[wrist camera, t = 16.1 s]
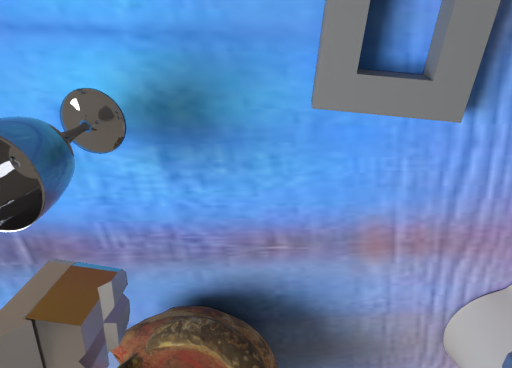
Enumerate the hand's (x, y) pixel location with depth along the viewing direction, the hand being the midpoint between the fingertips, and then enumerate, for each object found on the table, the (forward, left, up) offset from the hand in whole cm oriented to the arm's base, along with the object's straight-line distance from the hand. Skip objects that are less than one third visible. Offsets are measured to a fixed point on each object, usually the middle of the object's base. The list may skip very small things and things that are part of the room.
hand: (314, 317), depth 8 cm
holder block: (-8, -4, -31) cm, 32 cm away
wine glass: (+21, +7, -31) cm, 38 cm away
